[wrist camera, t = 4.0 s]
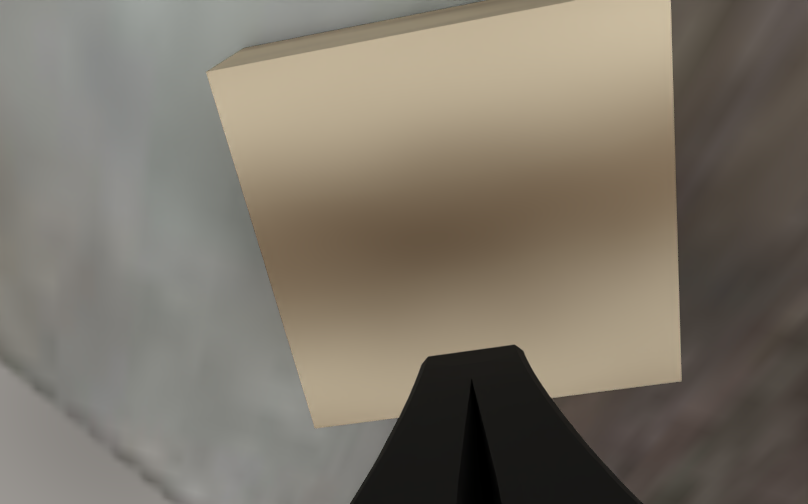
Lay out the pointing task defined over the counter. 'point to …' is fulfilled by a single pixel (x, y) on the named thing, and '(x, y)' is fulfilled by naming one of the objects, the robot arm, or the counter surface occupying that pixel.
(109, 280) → the counter surface
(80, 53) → the counter surface
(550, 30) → the maple block
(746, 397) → the counter surface
